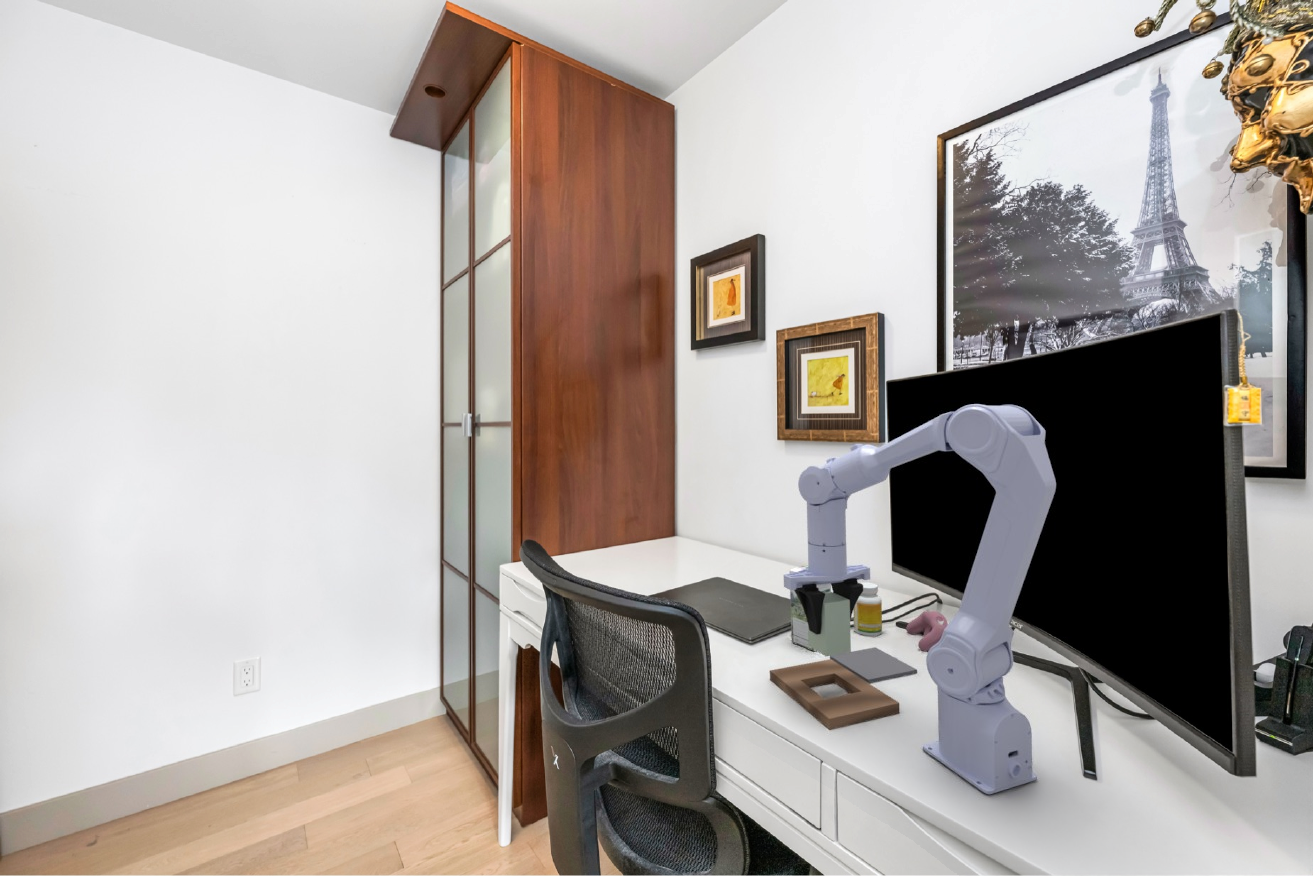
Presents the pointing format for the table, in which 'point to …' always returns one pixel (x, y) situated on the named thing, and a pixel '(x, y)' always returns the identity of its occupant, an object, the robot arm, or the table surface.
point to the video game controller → (928, 628)
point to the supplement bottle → (868, 611)
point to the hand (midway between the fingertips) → (828, 629)
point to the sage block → (833, 627)
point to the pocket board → (838, 709)
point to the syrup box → (801, 614)
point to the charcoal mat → (873, 665)
